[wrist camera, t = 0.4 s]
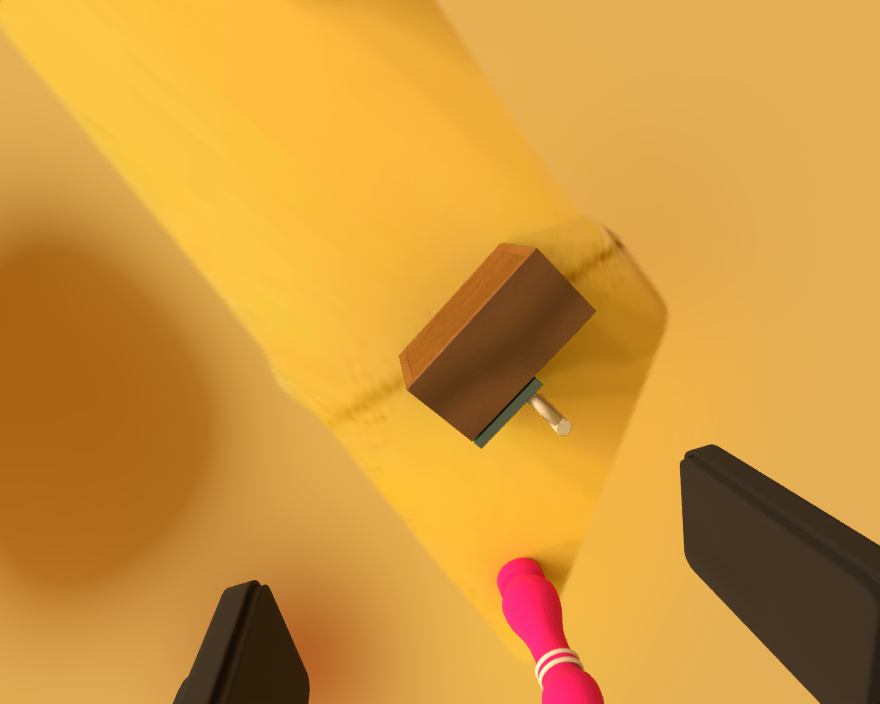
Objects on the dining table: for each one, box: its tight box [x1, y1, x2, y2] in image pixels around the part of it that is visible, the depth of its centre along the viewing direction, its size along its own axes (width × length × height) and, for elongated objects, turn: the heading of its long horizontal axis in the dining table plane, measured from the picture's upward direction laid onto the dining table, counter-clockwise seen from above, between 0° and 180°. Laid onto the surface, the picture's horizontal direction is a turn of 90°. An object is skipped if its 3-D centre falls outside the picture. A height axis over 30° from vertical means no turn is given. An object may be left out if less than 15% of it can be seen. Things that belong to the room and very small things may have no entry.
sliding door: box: [473, 376, 572, 449], centre depth 44 cm, size 7×8×10 cm
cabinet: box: [399, 244, 596, 441], centre depth 41 cm, size 8×16×10 cm, turn 137°
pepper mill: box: [497, 558, 604, 704], centre depth 47 cm, size 7×7×20 cm
